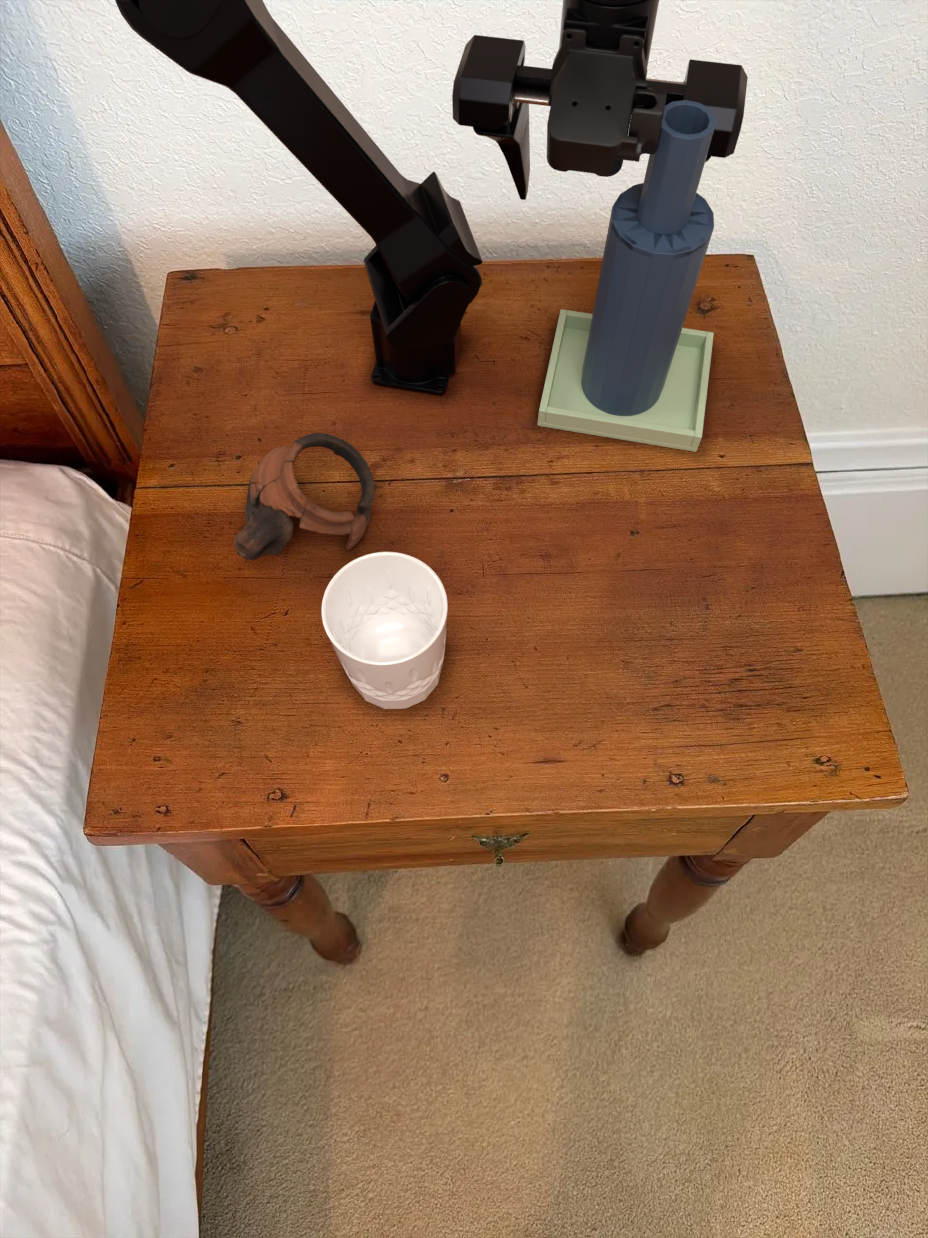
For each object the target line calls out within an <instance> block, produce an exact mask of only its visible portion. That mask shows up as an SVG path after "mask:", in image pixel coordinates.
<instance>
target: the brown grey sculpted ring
mask: <svg viewBox="0 0 928 1238" xmlns="http://www.w3.org/2000/svg"><path fill="white" fill-rule="evenodd" d="M314 447H315V448H316V447H319V448H324V449H328V450H330V451H333V454H334V455H336V456H339V457H341V458H342V459H344V460H345V461H346V462H347V463H348V464H349V465H350V466H351V468H353V470H354V472H355V473H356V475H357V477H358V480H359V482H360V483H359V484H360V486H361V495H360V499H359V502H358V504H357V506H356V512H355V513H352V511H350V510H346V511H345V510H344V511H332V510H330V509H326V508H323V507H321V506H319V505H318V504H317V503H314V502H313V501H312V500H309V498H308V497H307V496H306V494H305V493H304V492H303V490H302V488H301V487H300V485H299V483H298V481H297V478H296V474H295V463H296V459H297V457H298V456H299V454H301V452H302V451H303V450H306V449H309V448H314ZM375 488H376V487H375V480H374V477H373V473H372V471H371V468H370V467H369V464H368V462H367V460H365V458H364V457H363V456H362V454H361V452H360V451H358V450H357V449H356V448H355V447H354V446H353V445H352V444H351V443H349V442H348V441H346V440H345V439H342V438H339V437H338V436H335V435H331V434H329V433H323V432H313V433H309V434H306V435H303V436H301V437H299V438H297V439H295V440H293V442H292V444H291V445H290V447H287V446H280V447H278V446H277V447H275V448H273V449H272V450H270V451H269V452H268V453H266V454H265V455H264V456H263V457H262V458H261V459H260V461H259V462H258V464H257V465H256V466H255V467H254V470H253V471H252V473H251V476H250V480H249V483H248V488H247V495H246V503H245V508H244V519H245V524H246V525H245V526H244V527H243V528H242V529H241V530H240V531H239V532H238V533H237V534H235V536H234V538H233V541H232V543H233V546H234V549H235V551H236V554H237V555H238V556H239V557H242V558H243V559H244V560H248V561H254V560H257V559H259V558H261V557H263V556H266V555H270V556H275V557H277V556H279V557H280V556H281V555H282V551H283V549H284V547H285V546H287V544H288V542H290V541H291V540H292V538H293V534H294V523H293V520H292V518H290V517H294V518H297V519H299V524H298V527H299V528H300V529H302V530H307V531H311V532H315V533H318V534H325V535H326V534H327V535H336V536H343V535H348V539H347V541H346V542H345V546H344V547H345V549H346V550H348V551H350V550H351V549H353V548H354V547H355V546H356V545H357V544H358V543H359V541H361V539H362V537H363V536H364V535H365V532H366V529H367V527H369V525H370V523H371V518H372V517H371V516H372V507H373V506H372V505H373V501H374V498H375V490H376V489H375Z"/></svg>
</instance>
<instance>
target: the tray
mask: <svg viewBox="0 0 928 1238" xmlns="http://www.w3.org/2000/svg"><path fill="white" fill-rule="evenodd" d="M559 310H560V311H559V315H558V320H557V324H556V329H555V334H554V337H553V338H554V339H553V343H552V347H551V348H552V349H551V353H550V357H549V361H548V365H547V371H546V376H545V380H544V384H543V385H544V386H543V390H542V394H541V399H540V404H539V409H538V415H537V416H538V417H537V423H536V424H537V426H538V427H542V428H549V429H556V430H560V431H566V432H572V433H573V432H574V433H579V434H585V435H592V436H597V437H602V438H603V437H604V438H608V439H609V438H610V439H614V440H615V439H616V440H621V441H627V442H633V443H640V444H645V445H651V446H657V447H663V448H668V449H669V448H670V449H675V450H680V451H682V450H683V451H688V452H692V453H693V452H694V453H697V451H698V449H699V446H700V443H701V441H702V438H703V431H704V423H705V413H706V405H707V397H708V388H709V379H710V370H711V361H712V353H713V344H714V334H715V332H713V331H706V330H700V329H699V330H698V329H693V328H686V327H682V331H681V334H680V337H679V340H678V343H677V347H676V350H675V353H674V356H673V359H672V362H671V366H670V369H669V372H668V375H667V378H666V381H665V385H664V388H663V390H662V392H661V395H660V397H659V399H658V401H657V402H656V403H655V404H654V406H652V407H651V408H650V409H648V410H647V411H645V412H643V413H640V414H637V415H633V416H616V415H612V414H608V413H606V412H603V411H601V410H600V409H598V408H596V407H595V406H594V405H593V404H592V403H591V402H590V401H589V400H588V399H587V398H586V396H585V394H584V392H583V389H582V384H581V379H582V369H583V364H584V358H585V353H586V348H587V342H588V337H589V331H590V326H591V320H592V315H593V313H590V312H583V311H576V310H569V309H564V308H560V309H559Z"/></svg>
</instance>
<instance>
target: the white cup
mask: <svg viewBox="0 0 928 1238" xmlns="http://www.w3.org/2000/svg"><path fill="white" fill-rule="evenodd" d="M322 597H323V598H322V600H321V611H320V612H321V621H322V625H323V628H324V630H325V633H326V635H327V637H328V639H329V641H330V643H331V645H332V648H333V650H334V653H335V654H336V657H337V659H338V661H339V663H340V665H341V666H342V668H343V670H344V672H345V674H346V676H347V677H348V678H349V681H350V682H351V684H352V686H353V688H354V689H355V690H356V691H357V693H359V695H360V696H361V697H362V698H363V700H364V701H365V702H368V703H370V704H372V705H374V706H376V707H379V708H381V709H384V710H406V709H408V708H411V707H413V706H415V705H417V704H419V703H421V702H424V701H425V700H426V699H427V698H428V697H429V696H430V695H431V694H432V692H433V691H434V690H435V688H436V687H437V686H438V685H439V683H440V677H441V673H442V669H443V665H444V660H445V652H446V641H447V628H448V627H447V626H448V608H449V607H448V606H449V605H448V596H447V592H446V589H445V586H444V584H443V582H442V580H441V579H440V577H439V576H438V575H437V573H436V572H435V571H434V570H433V569H432V568H431V566H429V565H428V564H427V563H425V562H424V561H422V560H420V559H418V558H417V557H415V556H412V555H409V554H407V553H402V552H396V551H378V552H372V553H371V552H370V553H367V554H365V555H362V556H358V557H357V558H355V559H353V560H351V561H350V562H348V563H347V564H345V565H344V566H342V567H341V568H340V569H338V571H337V572H336V573H335V574H334V576H333V577H332V578H331V579H330V581H329V583H328V585H327V586H326V588H325V591H324V594H323V596H322Z"/></svg>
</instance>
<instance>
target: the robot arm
mask: <svg viewBox="0 0 928 1238" xmlns="http://www.w3.org/2000/svg"><path fill="white" fill-rule="evenodd" d="M114 1H115V4H116V7H117V8H118V10H119V12H120V15H121V17H122V18H123V19H124V20H125V22H126V24H127V25H128V26H129V27H130V29H131V30H132V31H133V32H135V33H136V34H137V35H138V36H139V37H140V38H141V39H143V40H144V41H146V42H147V43H148V44H150V45H151V46H152V47H153V48H154V49H157V51H159V52H160V53H162V54H163V55H164V56H166V57H167V58H168V59H170V60H171V61H172V62H173V63H175V64H177V65H178V66H179V67H180V68H182V69H183V70H185V71H186V72H187V73H189V74H191V75H193V76H196V77H199V78H201V79H203V80H206V81H209V82H212V83H215V84H217V85H220V86H223V87H225V88H227V89H229V90H230V91H231V92H233V93H234V94H235V95H236V96H237V98H239V99H240V100H241V101H242V103H244V104H245V106H246V107H247V108H248V109H249V110H250V111H251V112H252V113H253V114H254V116H256V117H257V118H258V119H259V121H260V122H262V124H263V125H264V126H265V127H266V128H267V129H268V130H269V131H270V132H271V133H272V134H273V135H274V137H276V138H277V139H278V140H279V141H280V142H281V144H282V145H283V146H284V147H285V148H286V149H287V150H288V151H289V153H291V154H292V155H293V156H294V157H295V159H296V160H297V161H299V162H300V164H301V165H302V166H303V167H304V168H305V169H306V170H307V171H308V173H310V174H311V175H312V176H313V177H314V179H315V180H316V181H317V182H318V183H319V184H320V185H321V186H322V187H323V188H324V189H325V190H326V191H327V192H328V193H329V195H331V196H332V197H333V199H334V200H335V201H336V202H337V203H338V204H339V205H340V206H341V207H342V208H343V209H344V210H345V211H346V212H347V213H348V215H349V216H351V218H352V219H353V220H354V221H355V222H356V223H357V224H358V225H359V226H360V227H361V229H363V230H364V231H365V232H366V234H368V236H370V238H371V239H372V241H373V242H374V244H375V246H374V247H373V248H372V249H371V250H370V251H369V252H368V253H367V255H365V257H363V263H364V264H363V265H364V267H365V271H366V274H367V278H368V280H369V284H370V287H371V290H372V294H373V297H374V303H373V305H372V309H371V311H370V315H369V318H370V326H371V335H372V342H373V349H374V356H375V363H374V366H373V369H372V372H371V375H370V380H371V383H372V384H373V385H376V386H381V387H388V388H393V389H399V390H400V389H401V390H407V391H411V392H416V393H417V392H419V393H424V394H431V395H436V396H443V395H445V394H446V392H447V390H448V386H449V382H450V378H451V376H453V375H455V374H456V372H457V368H458V365H459V361H460V357H461V354H462V321H463V318H464V316H465V314H466V311H467V309H468V306H469V305H470V304H471V303H473V302H474V300H475V299H476V297H477V296H478V294H479V291H480V288H482V286H483V279H482V275H481V273H480V271H479V270H480V269H479V268H478V266H480V265H482V264H483V259H482V257H481V254H480V251H479V248H478V246H477V243H476V241H475V238H474V235H473V232H472V230H471V228H470V224H469V222H468V219H467V216H466V213H465V211H464V207H463V205H462V203H461V201H460V200H459V199H456V198H454V197H452V196H451V195H450V194H449V193H448V192H447V191H446V189H444V187H443V184H442V182H441V181H440V178H439V176H438V175H437V172H436V171H433V172H431V173H430V174H429V175H427V177H426V178H425V179H424V180H423V181H422V182H421V183H419V182H417V181H413V180H410V179H407V178H406V177H405V176H403V175H402V174H401V173H400V172H399V170H398V169H397V168H396V166H394V164H393V163H392V162H391V161H390V159H389V158H388V157H387V156H386V154H385V153H384V152H383V150H382V149H381V148H380V147H379V146H378V145H377V143H376V142H375V141H374V140H373V139H372V137H371V136H370V134H369V133H368V132H367V131H366V130H365V129H364V127H363V126H362V125H361V124H360V123H359V121H358V120H357V119H356V118H355V117H354V116H353V114H352V113H351V111H350V110H349V109H348V108H347V106H345V104H344V103H343V102H342V100H341V99H340V98H339V96H337V95H336V94H335V93H334V91H333V90H332V88H331V87H330V86H329V85H328V84H327V82H325V80H324V79H323V77H322V76H321V75H320V74H319V73H318V71H317V70H316V69H315V68H314V67H313V65H312V64H311V63H310V61H309V60H308V59H307V58H306V57H305V56H304V54H303V53H302V52H301V51H300V50H299V48H298V47H297V46H296V45H295V43H294V42H293V41H292V40H291V38H290V37H289V36H288V35H287V34H286V33H285V31H284V30H283V29H282V28H281V27H280V25H279V24H278V22H277V21H276V20H275V19H274V18H273V16H272V15H271V13H270V11H269V9H268V8H267V6H266V4H265V2H264V0H114ZM659 3H660V0H562V7H561V20H560V30H559V31H560V33H559V43H558V44H559V45H558V50H557V52H556V55H555V56H554V59H553V63H552V66H551V68H547V67H538V66H529V65H525V63H526V47H527V46H526V43H525V39H524V40H523V39H515V38H506V37H497V36H489V35H480V34H479V35H478V34H474V35H473V36H472V37H471V38H470V39H469V40H468V41H467V42H466V44H465V46H464V48H463V51H462V55H461V57H460V61H459V64H458V67H457V70H456V73H455V76H454V79H453V86H452V95H451V97H452V98H451V100H452V101H451V102H452V120H454V122H455V123H456V124H457V125H459V126H463V127H469V128H470V127H471V128H472V130H473V131H474V133H475V134H476V135H477V136H480V137H486V138H488V139H491V140H492V141H495V143H496V144H497V145H498V147H499V149H500V151H501V152H502V155H503V157H504V159H505V161H506V164H507V165H508V170H509V172H510V175H511V177H512V180H513V183H514V186H515V188H516V192H517V194H518V197H519V199H520V200H523V201H525V200H527V196H528V193H529V186H530V185H529V184H530V183H529V182H530V174H531V151H530V150H531V149H530V147H531V146H530V145H531V143H530V141H531V140H530V138H531V137H530V105H536V106H544V107H550V108H549V111H548V112H549V113H548V118H547V123H546V124H547V125H546V161H547V164H548V165H549V167H550V168H552V169H553V170H554V171H557V172H564V173H566V172H570V171H571V172H578V173H579V172H580V173H586V174H593V175H596V176H598V177H602V178H603V177H604V178H608V177H609V178H610V177H612V176H615V175H617V174H618V173H619V172H620V171H621V169H622V168H623V164H624V161H627V162H628V161H629V162H635V163H636V162H637V163H639V162H640V160H641V156H642V155H650V154H652V155H654V154H655V153H656V149H657V144H658V139H659V134H660V129H661V124H662V119H663V114H664V109H665V106H666V105H668V104H669V103H671V102H674V101H683V100H688V101H693V102H697V103H701V104H703V105H704V106H705V107H707V108H708V109H710V110H711V111H712V112H713V114H714V117H715V119H716V125H715V129H714V132H713V136H712V139H711V143H710V146H709V150H708V153H707V157H706V161H705V163H707V162H709V161H710V159H711V158H712V157H713V158H722V159H725V158H727V157H729V156H731V155H734V154H735V150H736V147H737V144H738V140H739V137H740V133H741V130H742V125H743V121H744V115H745V107H746V98H747V88H748V87H747V86H748V79H749V77H748V74H747V72H746V71H745V69H744V67H743V65H742V64H734V63H725V62H716V61H707V60H700V59H689V60H688V64H687V67H686V72H685V77H684V80H683V81H672V80H667V79H666V80H663V79H656V78H649V77H648V78H647V76H648V65H649V59H650V54H651V49H652V43H653V38H654V33H655V27H656V21H657V16H658V9H659V5H660V4H659Z"/></svg>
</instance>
